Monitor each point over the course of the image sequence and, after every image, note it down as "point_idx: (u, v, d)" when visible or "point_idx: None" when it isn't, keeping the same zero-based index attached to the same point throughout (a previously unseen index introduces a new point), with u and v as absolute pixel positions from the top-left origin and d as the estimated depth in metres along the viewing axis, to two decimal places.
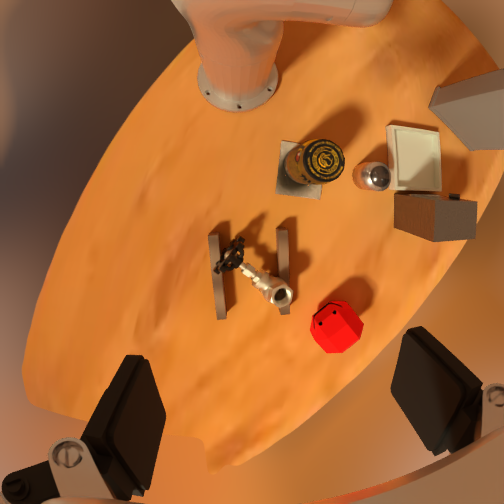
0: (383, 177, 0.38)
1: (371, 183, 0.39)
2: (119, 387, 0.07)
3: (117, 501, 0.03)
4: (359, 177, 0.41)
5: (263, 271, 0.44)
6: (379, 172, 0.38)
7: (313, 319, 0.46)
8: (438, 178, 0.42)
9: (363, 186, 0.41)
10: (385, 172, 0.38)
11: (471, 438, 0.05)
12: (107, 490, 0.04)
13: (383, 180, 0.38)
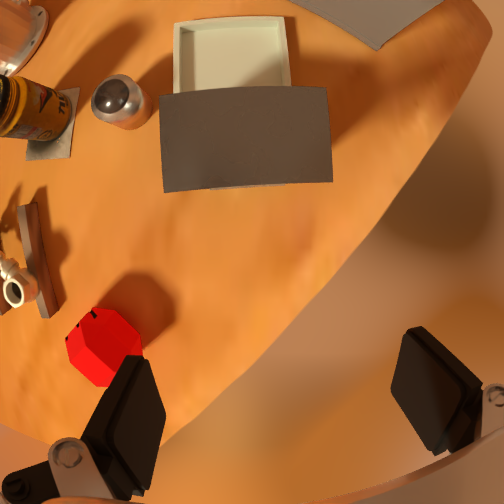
0: (115, 95, 0.19)
1: (99, 111, 0.20)
2: (119, 387, 0.07)
3: (117, 501, 0.03)
4: None
5: (9, 259, 0.24)
6: (108, 90, 0.19)
7: None
8: None
9: None
10: (119, 86, 0.19)
11: (471, 438, 0.05)
12: (107, 490, 0.04)
13: (114, 100, 0.19)
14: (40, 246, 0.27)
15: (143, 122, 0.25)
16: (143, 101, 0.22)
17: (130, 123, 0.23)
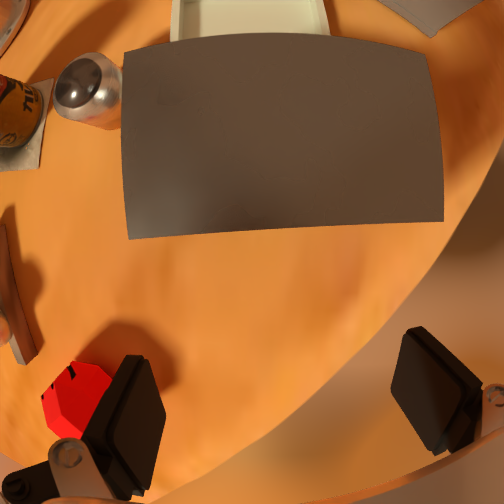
0: (81, 81, 0.12)
1: (62, 107, 0.12)
2: (119, 387, 0.07)
3: (117, 501, 0.03)
4: None
5: None
6: (72, 74, 0.12)
7: None
8: None
9: None
10: (87, 68, 0.11)
11: (471, 438, 0.05)
12: (107, 490, 0.04)
13: (80, 87, 0.12)
14: (10, 279, 0.20)
15: None
16: None
17: (109, 120, 0.16)
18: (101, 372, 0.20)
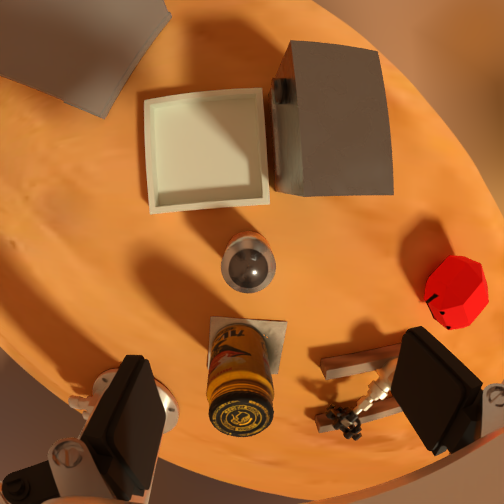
0: (248, 263, 0.23)
1: (265, 280, 0.24)
2: (119, 387, 0.07)
3: (117, 501, 0.03)
4: None
5: (370, 389, 0.30)
6: (241, 273, 0.23)
7: None
8: (237, 94, 0.23)
9: None
10: (238, 261, 0.23)
11: (471, 438, 0.05)
12: (107, 490, 0.04)
13: (254, 262, 0.23)
14: (362, 354, 0.32)
15: None
16: (246, 235, 0.25)
17: (269, 247, 0.26)
18: (432, 274, 0.28)
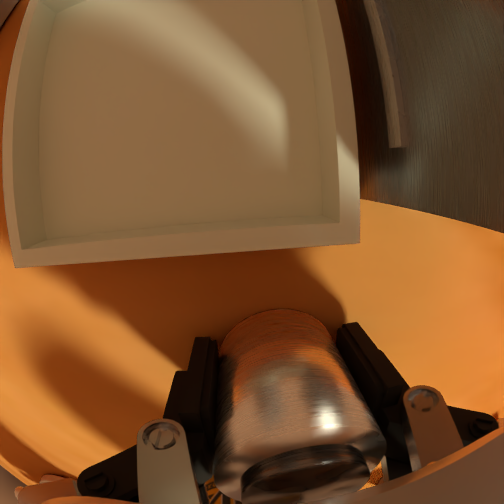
0: (308, 487, 0.05)
1: None
2: (200, 365, 0.08)
3: (117, 501, 0.03)
4: None
5: None
6: (287, 502, 0.05)
7: None
8: None
9: None
10: (271, 491, 0.05)
11: (402, 445, 0.05)
12: (192, 480, 0.04)
13: (327, 481, 0.05)
14: None
15: (312, 320, 0.10)
16: (275, 365, 0.07)
17: (345, 365, 0.08)
18: None
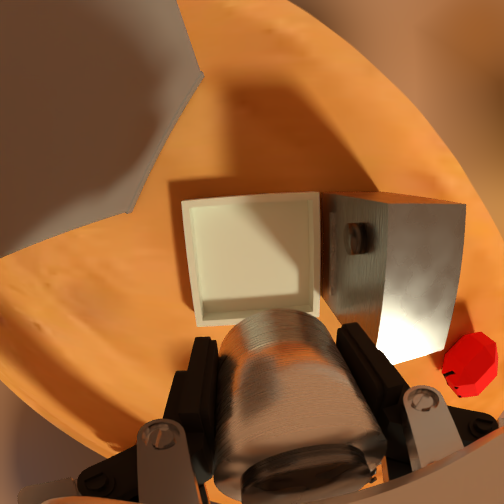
0: (309, 487, 0.05)
1: None
2: (200, 365, 0.08)
3: (117, 501, 0.03)
4: None
5: None
6: (287, 502, 0.05)
7: (451, 386, 0.29)
8: (291, 200, 0.23)
9: None
10: (272, 490, 0.05)
11: (402, 445, 0.05)
12: (192, 480, 0.04)
13: (328, 481, 0.05)
14: None
15: (312, 320, 0.10)
16: (276, 364, 0.07)
17: (345, 365, 0.08)
18: (452, 352, 0.28)
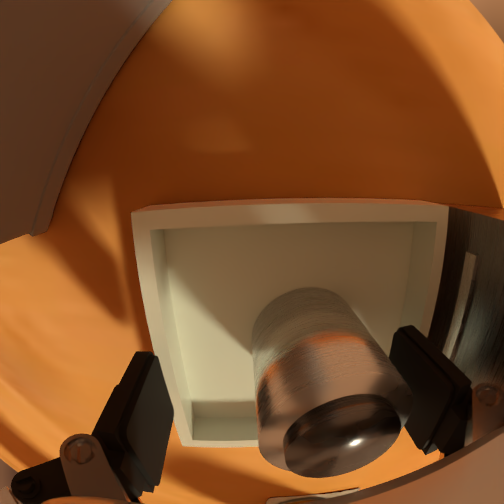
0: (348, 439, 0.06)
1: None
2: (130, 383, 0.07)
3: (117, 501, 0.03)
4: None
5: None
6: (326, 459, 0.06)
7: None
8: (398, 220, 0.09)
9: None
10: (316, 442, 0.06)
11: (462, 438, 0.05)
12: (118, 487, 0.04)
13: (365, 432, 0.06)
14: None
15: (339, 298, 0.11)
16: (315, 328, 0.08)
17: None
18: None
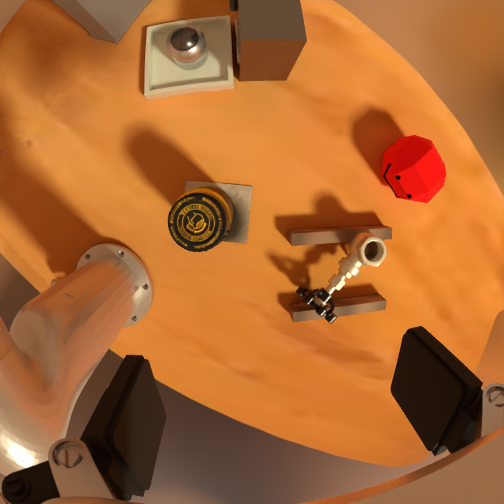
0: (183, 34, 0.24)
1: (199, 42, 0.25)
2: (119, 387, 0.07)
3: (117, 501, 0.03)
4: (198, 58, 0.28)
5: (340, 264, 0.34)
6: (180, 41, 0.24)
7: None
8: (212, 20, 0.27)
9: (206, 49, 0.27)
10: (176, 36, 0.24)
11: (471, 438, 0.05)
12: (107, 490, 0.04)
13: (187, 33, 0.24)
14: (328, 228, 0.36)
15: None
16: None
17: None
18: (386, 151, 0.32)
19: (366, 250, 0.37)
